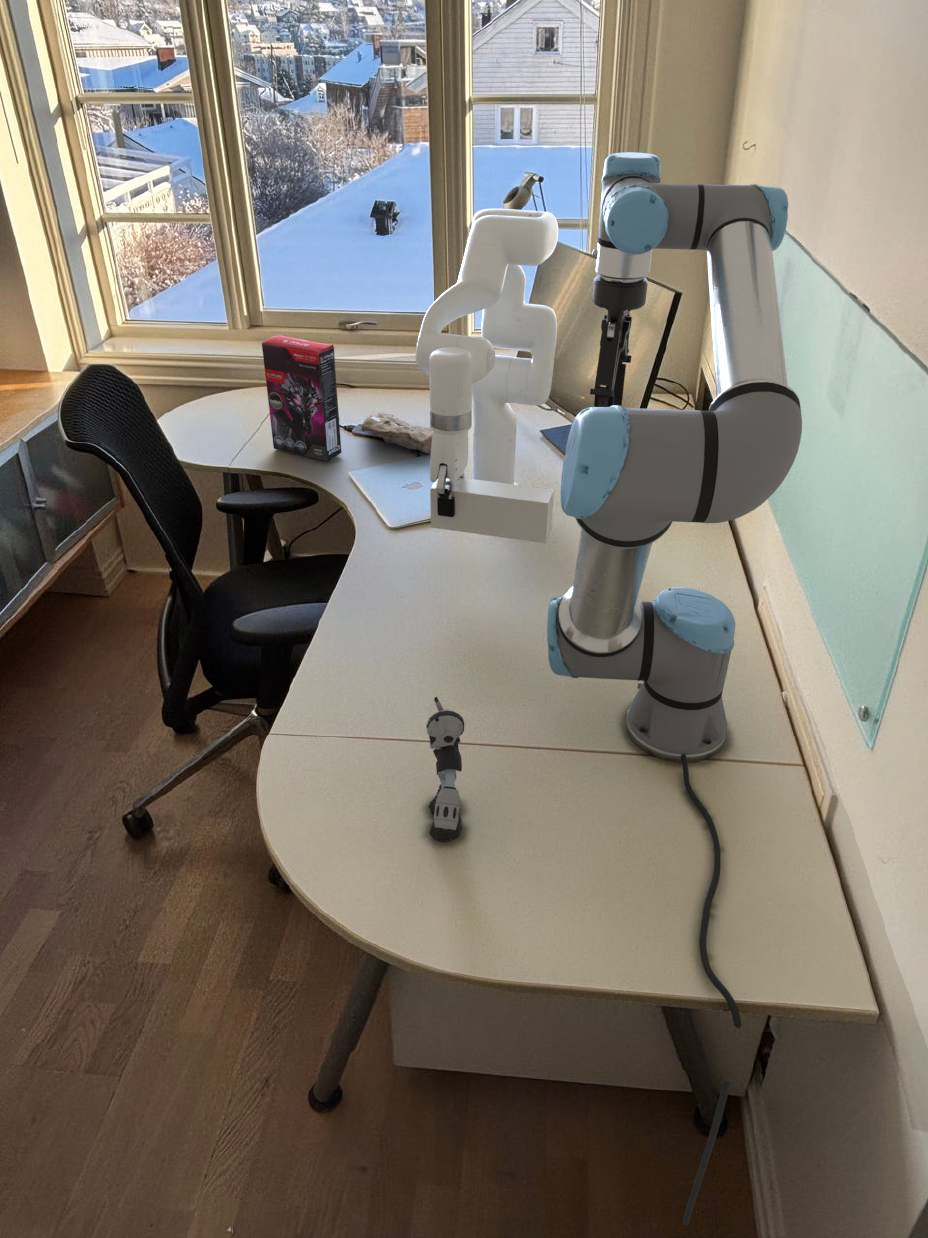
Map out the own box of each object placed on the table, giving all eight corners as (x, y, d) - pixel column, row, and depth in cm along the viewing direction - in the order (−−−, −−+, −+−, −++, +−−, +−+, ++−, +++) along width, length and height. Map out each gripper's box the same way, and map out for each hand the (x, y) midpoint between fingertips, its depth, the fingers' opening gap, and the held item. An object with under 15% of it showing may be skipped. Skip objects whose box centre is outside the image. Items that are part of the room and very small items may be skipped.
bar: (551, 528, 176) (554, 489, 172) (545, 543, 172) (548, 503, 167) (439, 513, 181) (439, 474, 177) (430, 527, 177) (430, 488, 172)
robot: (467, 874, 119) (468, 759, 108) (429, 876, 119) (427, 760, 108) (460, 769, 135) (460, 659, 124) (426, 770, 135) (424, 660, 124)
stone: (345, 437, 230) (349, 413, 227) (367, 428, 243) (371, 405, 241) (423, 461, 226) (429, 437, 224) (441, 451, 239) (446, 428, 237)
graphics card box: (271, 449, 231) (258, 341, 215) (288, 440, 236) (276, 333, 220) (327, 463, 224) (318, 352, 209) (343, 453, 229) (336, 344, 214)
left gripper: (444, 399, 174) (444, 486, 184) (416, 434, 160) (418, 525, 170) (482, 403, 172) (481, 490, 182) (458, 439, 159) (457, 531, 169)
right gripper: (607, 254, 140) (594, 389, 152) (580, 296, 120) (568, 448, 132) (656, 258, 139) (640, 394, 150) (638, 301, 119) (621, 454, 130)
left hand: (451, 506), depth 176 cm, fingers closed on bar, 6 cm apart
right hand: (607, 419), depth 141 cm, fingers open, 13 cm apart
